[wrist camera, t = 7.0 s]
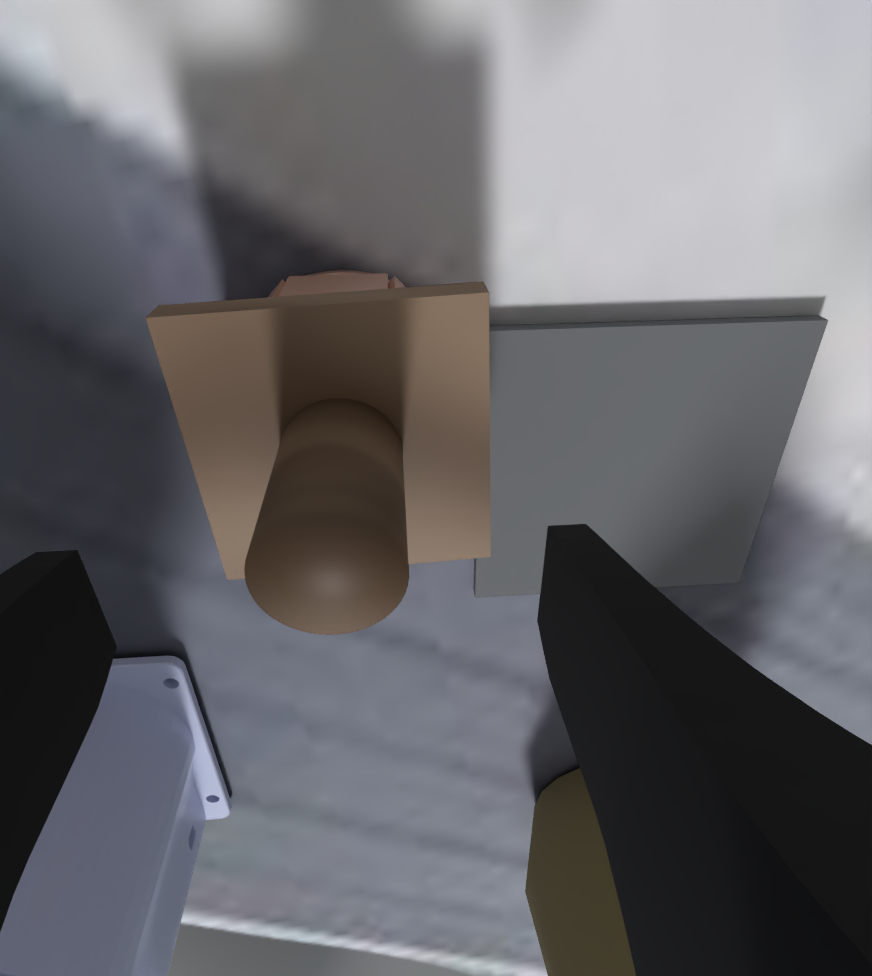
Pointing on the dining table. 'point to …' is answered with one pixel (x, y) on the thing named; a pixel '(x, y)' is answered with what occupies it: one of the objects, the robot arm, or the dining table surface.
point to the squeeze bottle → (574, 886)
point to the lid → (335, 440)
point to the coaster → (640, 441)
